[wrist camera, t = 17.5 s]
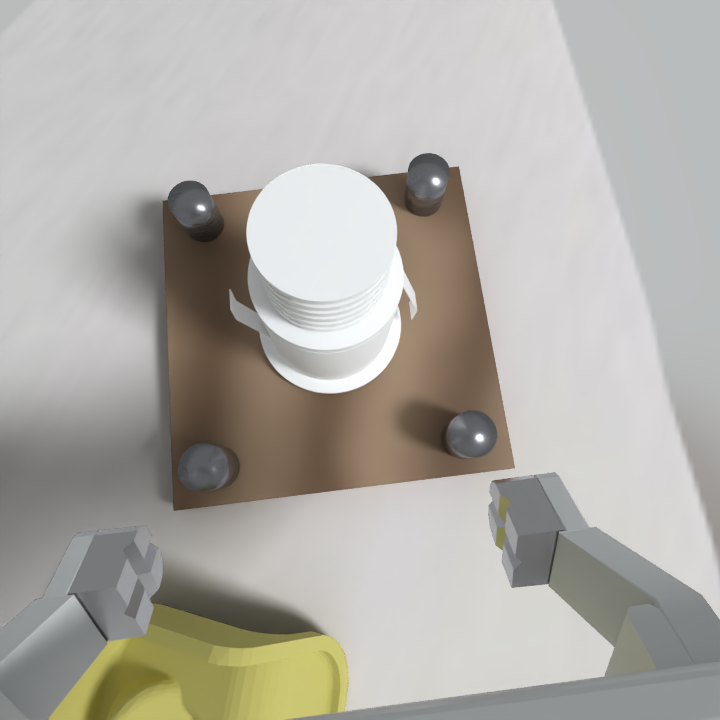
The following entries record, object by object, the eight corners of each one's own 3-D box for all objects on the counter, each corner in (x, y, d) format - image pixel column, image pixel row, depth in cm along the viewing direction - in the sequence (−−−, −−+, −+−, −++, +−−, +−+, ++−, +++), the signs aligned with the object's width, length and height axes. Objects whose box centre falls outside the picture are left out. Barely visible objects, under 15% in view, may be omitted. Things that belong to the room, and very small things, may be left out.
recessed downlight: (254, 402, 24) (192, 353, 14) (246, 267, 25) (186, 139, 16) (417, 386, 24) (468, 328, 14) (400, 255, 26) (435, 122, 16)
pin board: (183, 508, 24) (150, 515, 20) (171, 212, 27) (141, 173, 24) (507, 468, 24) (532, 468, 20) (454, 179, 28) (468, 135, 24)
